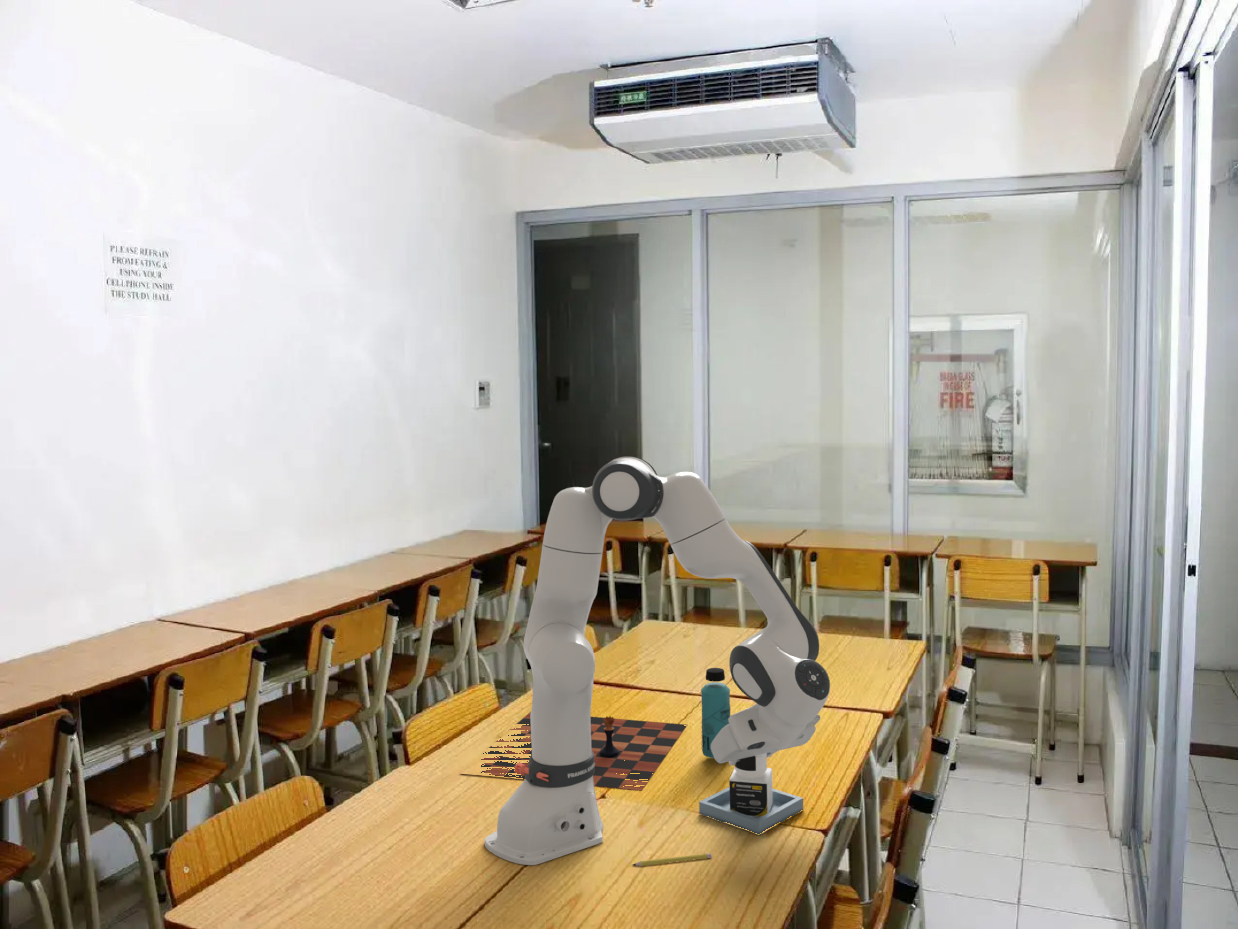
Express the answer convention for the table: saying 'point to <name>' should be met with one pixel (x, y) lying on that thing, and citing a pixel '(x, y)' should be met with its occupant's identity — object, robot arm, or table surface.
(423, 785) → the table surface
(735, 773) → the medicine bottle
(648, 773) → the chessboard
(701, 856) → the pencil
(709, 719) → the beverage bottle
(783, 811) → the tray
